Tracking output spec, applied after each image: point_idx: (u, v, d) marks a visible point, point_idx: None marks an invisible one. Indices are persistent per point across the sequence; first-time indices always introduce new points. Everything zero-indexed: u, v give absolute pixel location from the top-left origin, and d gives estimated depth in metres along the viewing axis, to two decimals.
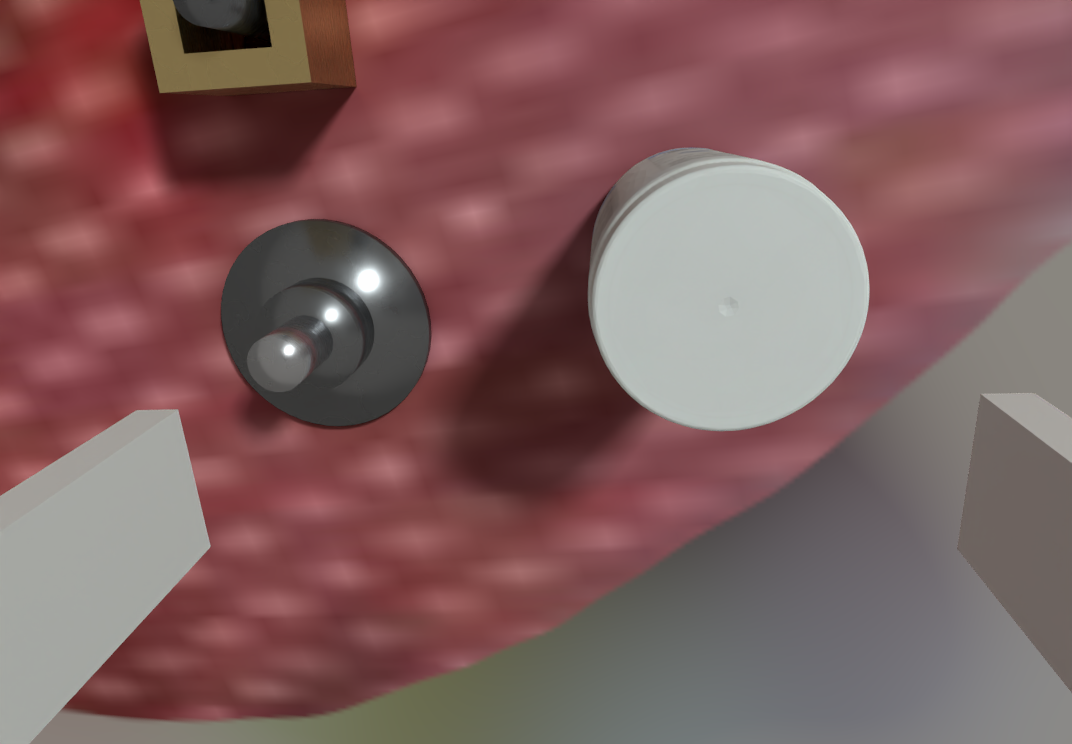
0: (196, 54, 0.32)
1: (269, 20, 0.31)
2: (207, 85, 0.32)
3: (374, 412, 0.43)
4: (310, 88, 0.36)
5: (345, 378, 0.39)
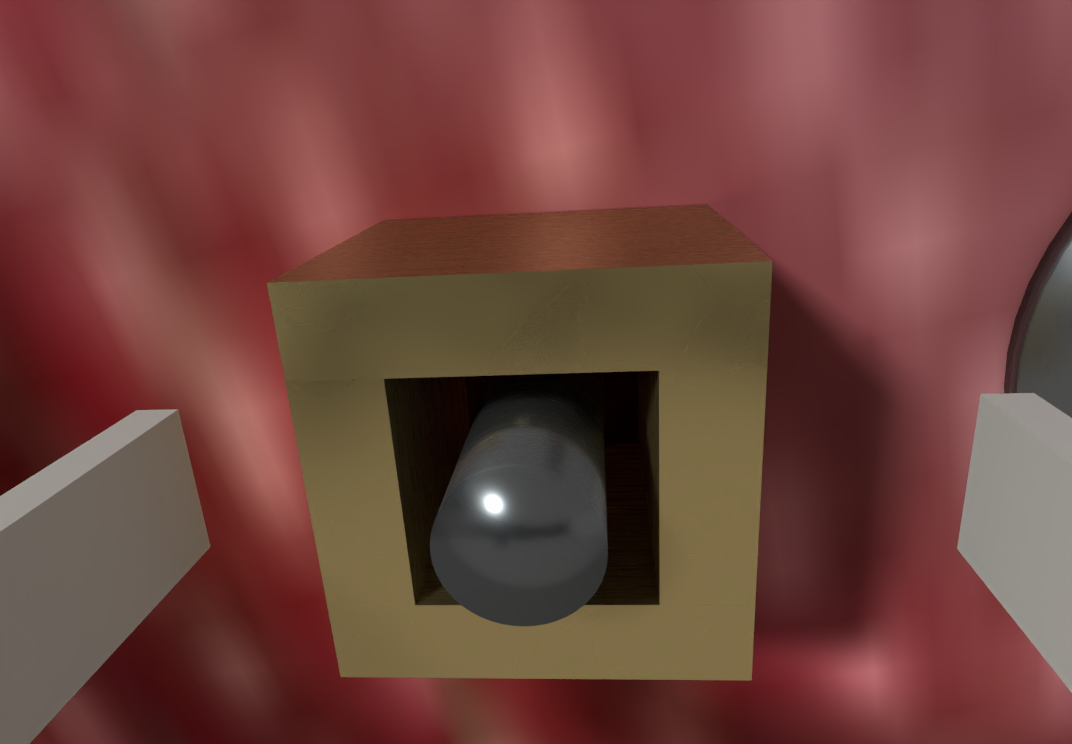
0: (663, 575, 0.12)
1: (586, 367, 0.10)
2: (746, 562, 0.11)
3: None
4: None
5: None
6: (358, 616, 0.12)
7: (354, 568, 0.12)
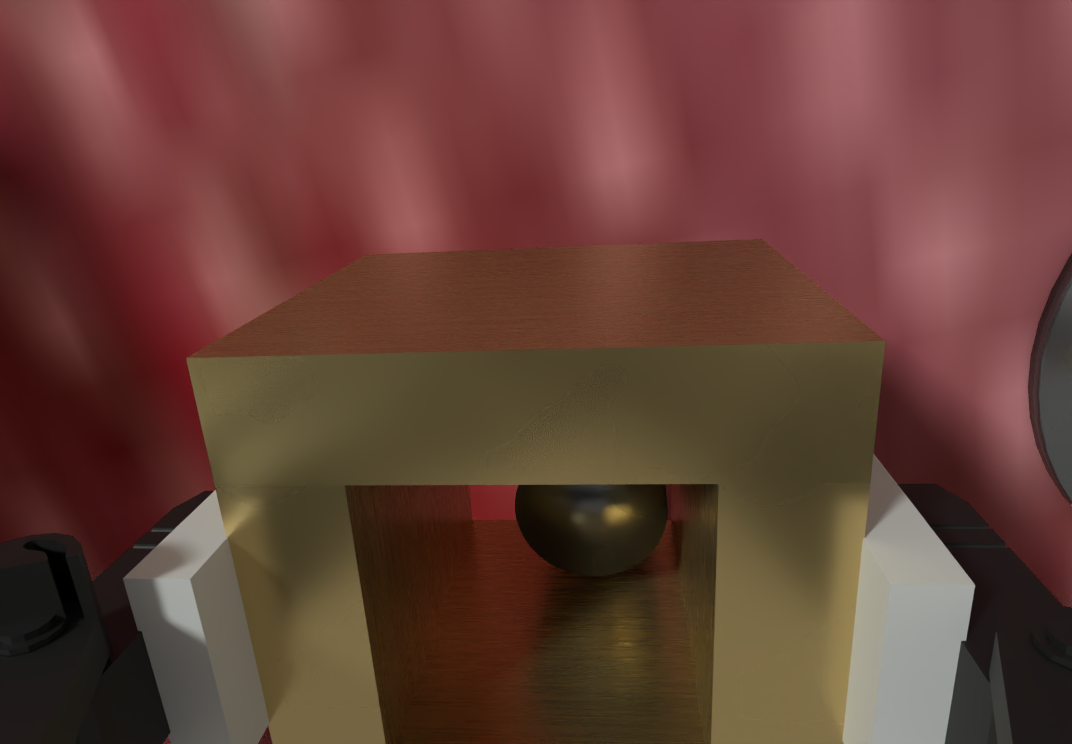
0: (716, 743, 0.09)
1: (618, 477, 0.08)
2: (828, 731, 0.08)
3: None
4: None
5: None
6: None
7: (310, 719, 0.09)
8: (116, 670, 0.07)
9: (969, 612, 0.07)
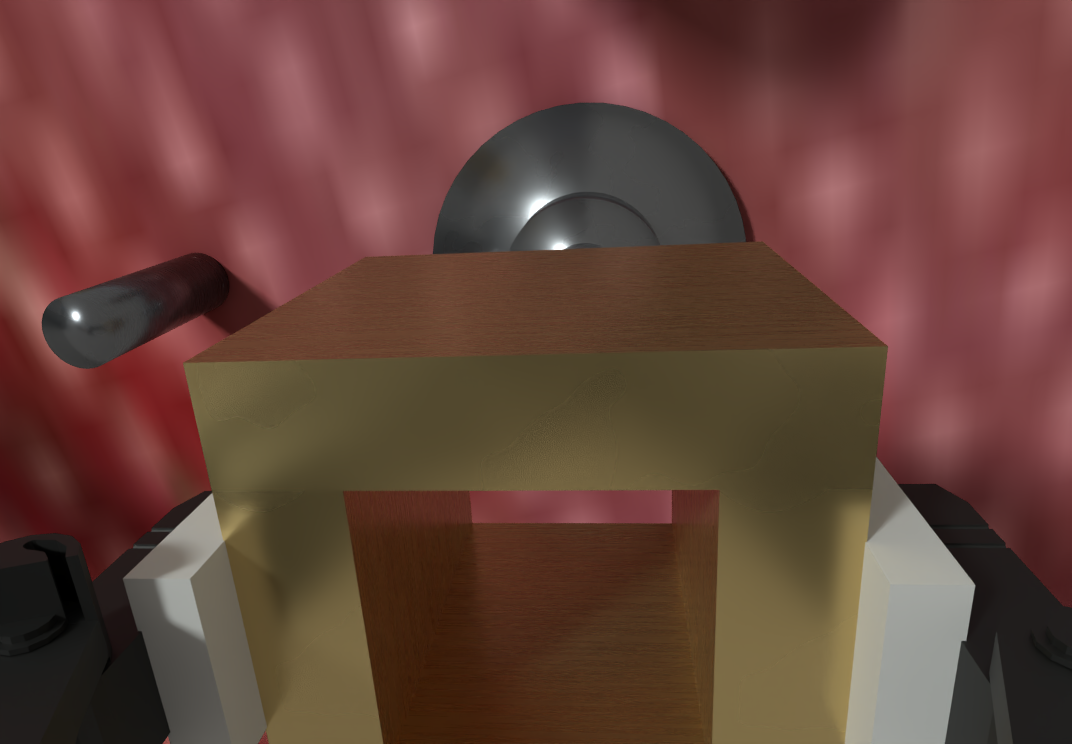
0: None
1: (618, 483, 0.08)
2: (830, 738, 0.08)
3: (725, 203, 0.27)
4: None
5: (646, 229, 0.25)
6: None
7: (308, 725, 0.09)
8: (116, 670, 0.07)
9: (969, 612, 0.07)
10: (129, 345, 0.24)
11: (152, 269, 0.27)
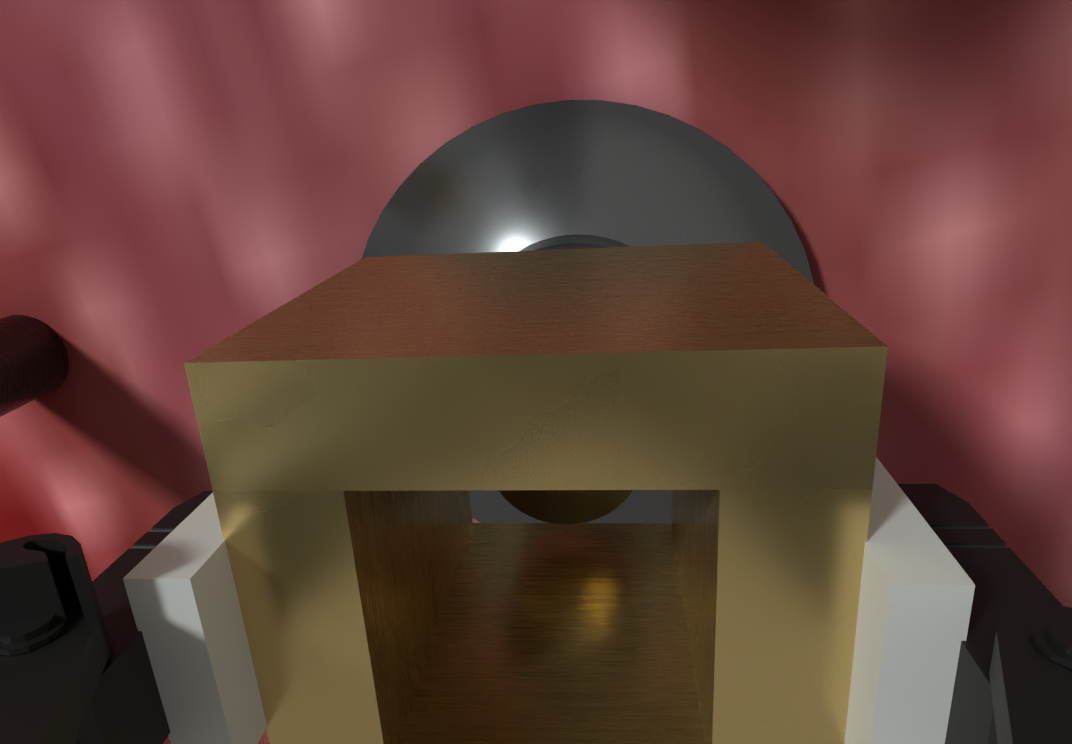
0: None
1: (618, 483, 0.08)
2: (830, 738, 0.08)
3: (788, 253, 0.18)
4: None
5: None
6: None
7: (308, 725, 0.09)
8: (116, 670, 0.07)
9: (970, 612, 0.07)
10: None
11: None
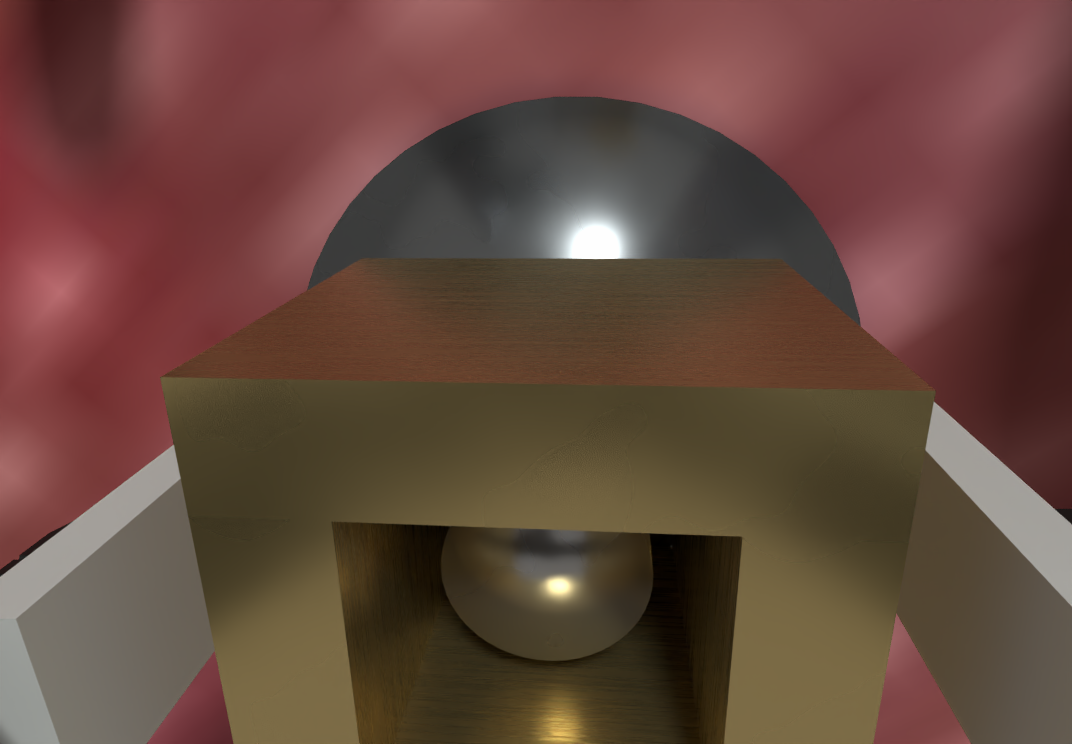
0: None
1: (633, 525, 0.07)
2: None
3: None
4: None
5: None
6: None
7: None
8: None
9: None
10: None
11: None
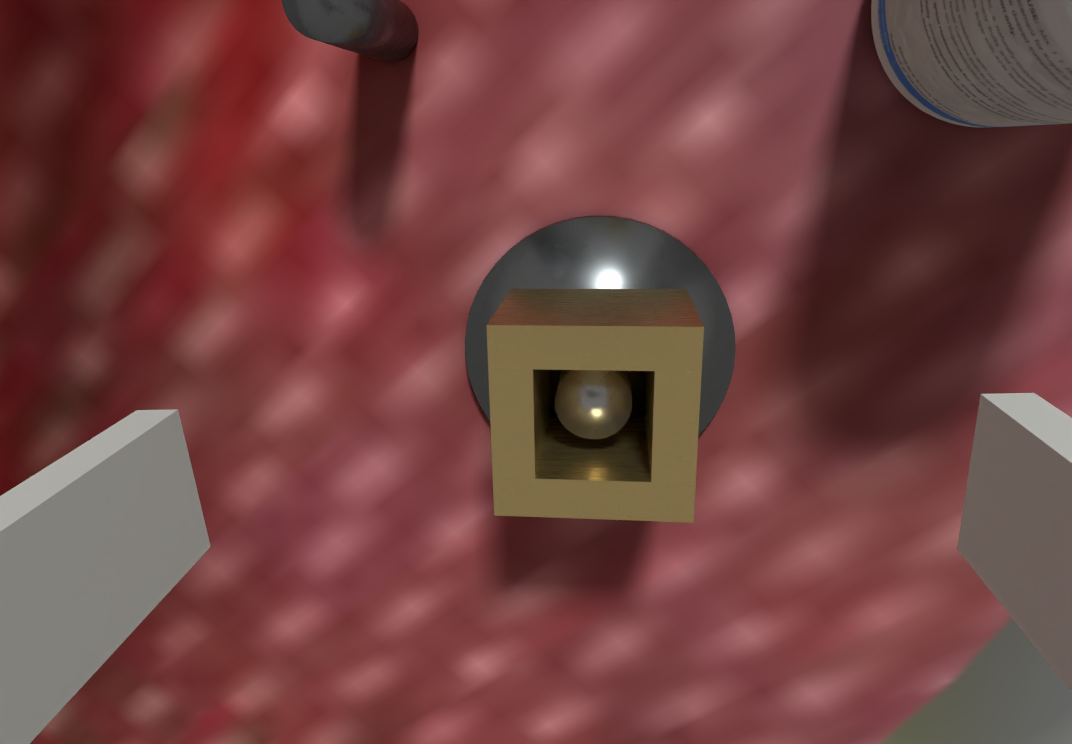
0: (653, 467, 0.25)
1: (623, 368, 0.24)
2: (691, 462, 0.25)
3: (700, 422, 0.33)
4: None
5: None
6: (506, 483, 0.26)
7: (508, 458, 0.25)
8: None
9: None
10: (330, 43, 0.24)
11: (391, 3, 0.27)
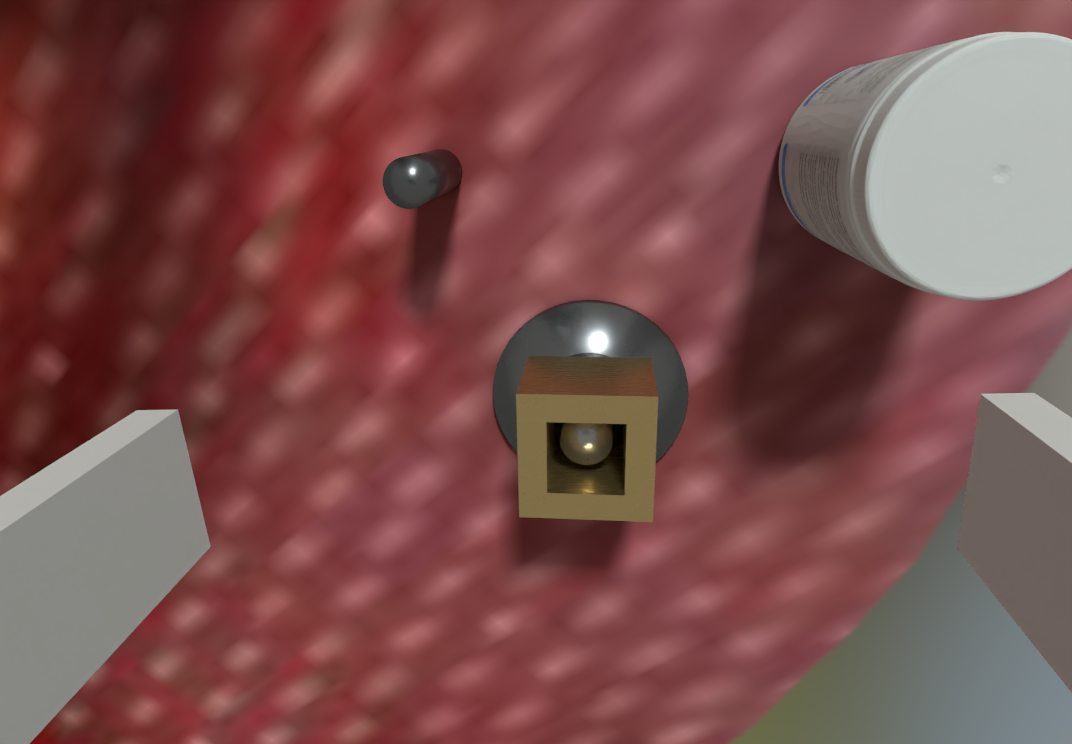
0: (626, 485, 0.37)
1: (605, 422, 0.36)
2: (651, 482, 0.37)
3: (663, 446, 0.46)
4: None
5: None
6: (528, 496, 0.38)
7: (529, 479, 0.38)
8: None
9: None
10: None
11: (448, 166, 0.39)
